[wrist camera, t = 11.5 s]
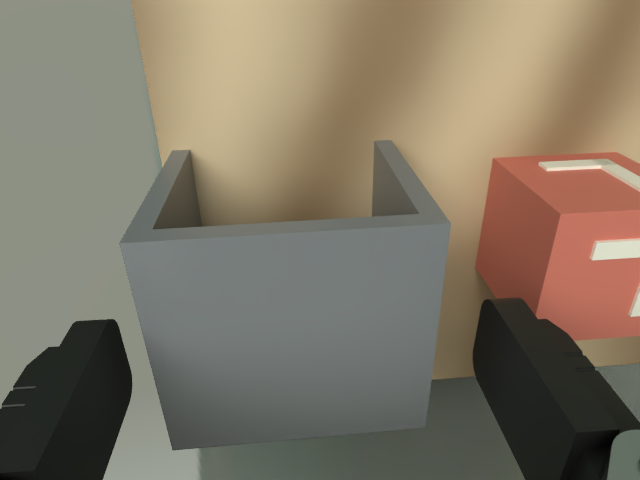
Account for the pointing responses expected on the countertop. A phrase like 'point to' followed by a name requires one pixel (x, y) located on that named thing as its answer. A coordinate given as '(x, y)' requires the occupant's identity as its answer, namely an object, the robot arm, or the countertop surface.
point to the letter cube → (566, 240)
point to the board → (389, 111)
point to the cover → (289, 312)
